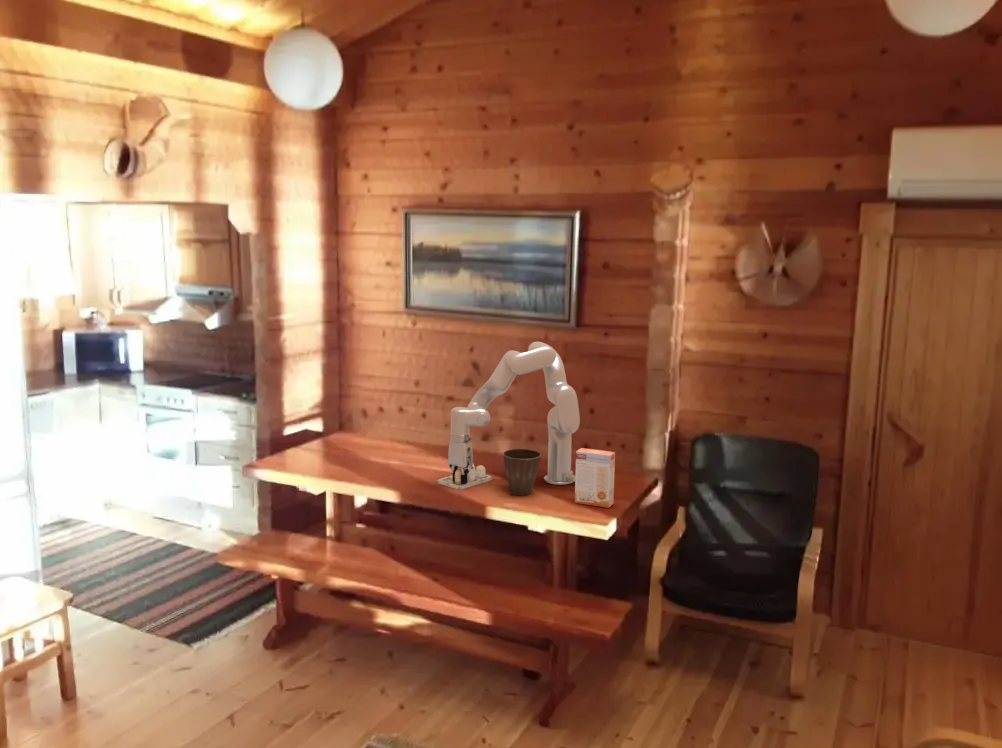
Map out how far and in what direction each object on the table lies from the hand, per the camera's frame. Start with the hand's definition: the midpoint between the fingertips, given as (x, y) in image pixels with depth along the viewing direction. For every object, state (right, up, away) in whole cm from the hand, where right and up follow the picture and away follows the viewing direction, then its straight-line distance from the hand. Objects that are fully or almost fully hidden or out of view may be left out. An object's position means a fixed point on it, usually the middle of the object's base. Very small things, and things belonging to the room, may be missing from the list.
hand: (459, 481), depth 351 cm
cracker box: (+52, -7, -16) cm, 55 cm away
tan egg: (0, -1, 0) cm, 1 cm away
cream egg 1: (+4, -1, +5) cm, 6 cm away
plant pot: (+25, -4, -4) cm, 25 cm away
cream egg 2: (+4, +1, +13) cm, 14 cm away
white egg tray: (+2, -2, +7) cm, 7 cm away
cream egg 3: (+8, 0, +9) cm, 12 cm away
